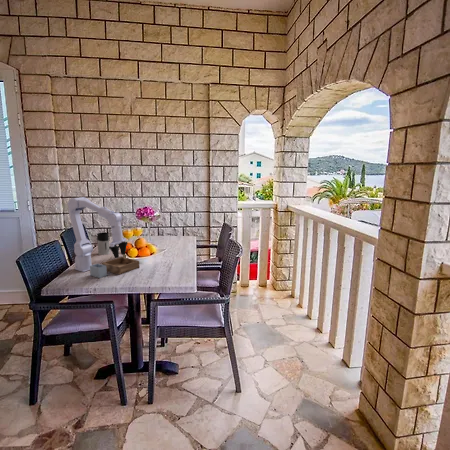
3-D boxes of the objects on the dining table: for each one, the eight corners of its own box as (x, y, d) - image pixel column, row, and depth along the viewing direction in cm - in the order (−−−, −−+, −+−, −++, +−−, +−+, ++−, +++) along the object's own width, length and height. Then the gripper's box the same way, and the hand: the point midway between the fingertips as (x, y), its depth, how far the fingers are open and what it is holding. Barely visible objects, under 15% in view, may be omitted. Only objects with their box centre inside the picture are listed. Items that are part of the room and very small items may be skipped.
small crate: (90, 275, 169) (89, 265, 168) (98, 273, 173) (97, 263, 172) (99, 278, 165) (98, 268, 163) (107, 275, 169) (106, 265, 168)
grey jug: (103, 251, 221) (102, 231, 219) (119, 253, 217) (117, 233, 214) (94, 254, 213) (93, 234, 210) (110, 256, 208) (109, 235, 206)
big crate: (102, 270, 179) (101, 262, 178) (122, 263, 191) (121, 257, 190) (119, 274, 170) (119, 267, 170) (139, 267, 183) (139, 260, 182)
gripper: (116, 235, 162) (120, 259, 164) (129, 230, 176) (132, 252, 178) (105, 236, 163) (108, 259, 166) (118, 231, 178) (121, 252, 180)
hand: (120, 256), depth 172 cm, fingers open, 7 cm apart
